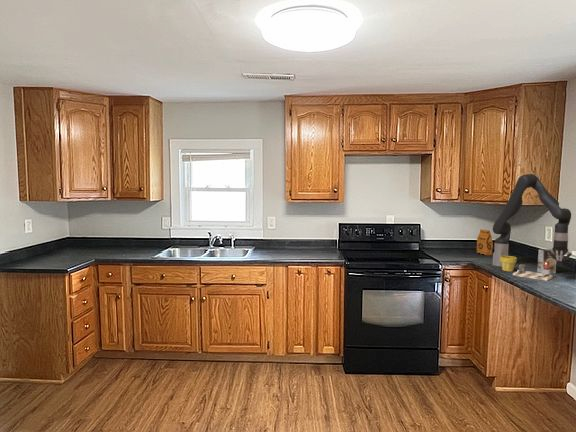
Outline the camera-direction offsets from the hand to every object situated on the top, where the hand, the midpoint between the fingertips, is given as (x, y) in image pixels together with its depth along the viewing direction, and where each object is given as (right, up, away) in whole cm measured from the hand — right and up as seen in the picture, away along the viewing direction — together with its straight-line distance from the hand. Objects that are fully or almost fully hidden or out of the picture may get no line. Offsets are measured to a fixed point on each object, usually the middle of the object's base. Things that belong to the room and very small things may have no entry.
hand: (559, 266), depth 249 cm
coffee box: (+7, -7, +23) cm, 25 cm away
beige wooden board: (-11, -8, +10) cm, 17 cm away
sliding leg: (-6, -7, +5) cm, 10 cm away
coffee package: (0, -2, +95) cm, 95 cm away
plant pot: (-17, -7, +29) cm, 34 cm away
